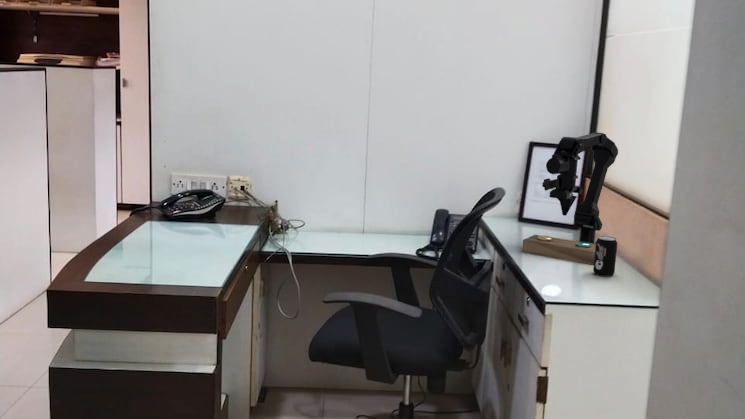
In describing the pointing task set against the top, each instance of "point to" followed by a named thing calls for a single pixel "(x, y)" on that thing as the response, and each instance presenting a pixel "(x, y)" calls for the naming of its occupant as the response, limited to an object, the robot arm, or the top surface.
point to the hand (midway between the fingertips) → (564, 215)
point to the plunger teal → (583, 244)
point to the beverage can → (605, 256)
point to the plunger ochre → (545, 238)
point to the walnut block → (559, 249)
